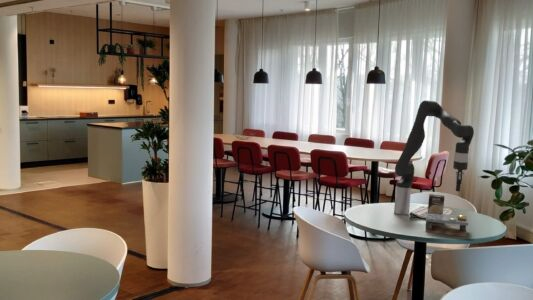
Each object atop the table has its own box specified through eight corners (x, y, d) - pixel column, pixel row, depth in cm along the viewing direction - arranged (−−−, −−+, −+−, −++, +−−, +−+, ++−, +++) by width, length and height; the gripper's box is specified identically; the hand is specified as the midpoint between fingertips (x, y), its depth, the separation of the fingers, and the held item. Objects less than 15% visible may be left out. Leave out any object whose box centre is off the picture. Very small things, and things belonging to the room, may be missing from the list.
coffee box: (426, 221, 328) (428, 195, 326) (426, 219, 334) (428, 193, 332) (442, 223, 325) (444, 197, 323) (442, 221, 331) (444, 195, 329)
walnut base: (425, 231, 305) (426, 221, 304) (425, 224, 321) (426, 215, 321) (467, 236, 299) (468, 226, 298) (465, 229, 315) (466, 219, 314)
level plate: (426, 221, 305) (426, 215, 304) (426, 214, 320) (427, 209, 320) (468, 225, 299) (468, 219, 298) (466, 219, 314) (466, 213, 313)
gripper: (453, 158, 311) (450, 188, 313) (454, 161, 299) (450, 192, 301) (467, 159, 309) (464, 189, 311) (468, 162, 296) (465, 194, 299)
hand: (457, 191), depth 306 cm, fingers closed
